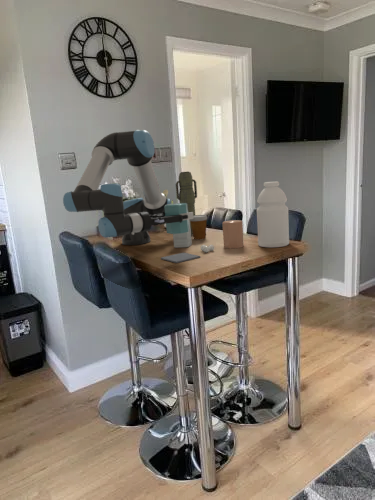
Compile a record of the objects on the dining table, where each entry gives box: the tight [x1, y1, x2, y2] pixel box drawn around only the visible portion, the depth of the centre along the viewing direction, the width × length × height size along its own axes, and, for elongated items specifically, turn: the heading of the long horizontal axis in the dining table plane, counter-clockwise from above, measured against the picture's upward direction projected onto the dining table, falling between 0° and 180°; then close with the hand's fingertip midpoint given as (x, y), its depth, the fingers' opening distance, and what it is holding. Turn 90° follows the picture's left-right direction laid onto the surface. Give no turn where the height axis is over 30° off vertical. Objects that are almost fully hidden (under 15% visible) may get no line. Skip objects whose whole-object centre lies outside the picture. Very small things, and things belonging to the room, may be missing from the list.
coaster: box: [160, 252, 201, 264], centre depth 164 cm, size 12×12×1 cm
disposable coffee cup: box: [190, 214, 208, 240], centre depth 205 cm, size 10×10×12 cm
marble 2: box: [208, 244, 215, 252], centre depth 173 cm, size 3×3×3 cm
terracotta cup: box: [222, 219, 245, 249], centre depth 178 cm, size 9×9×11 cm
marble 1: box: [202, 245, 210, 253], centre depth 171 cm, size 3×3×3 cm
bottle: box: [256, 181, 290, 248], centre depth 173 cm, size 14×14×28 cm
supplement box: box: [172, 219, 193, 249], centre depth 188 cm, size 7×7×13 cm
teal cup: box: [164, 202, 189, 235], centre depth 160 cm, size 9×9×11 cm
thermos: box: [175, 171, 198, 236], centre depth 220 cm, size 9×12×35 cm
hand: (185, 214), depth 163 cm, fingers closed on teal cup, 9 cm apart
